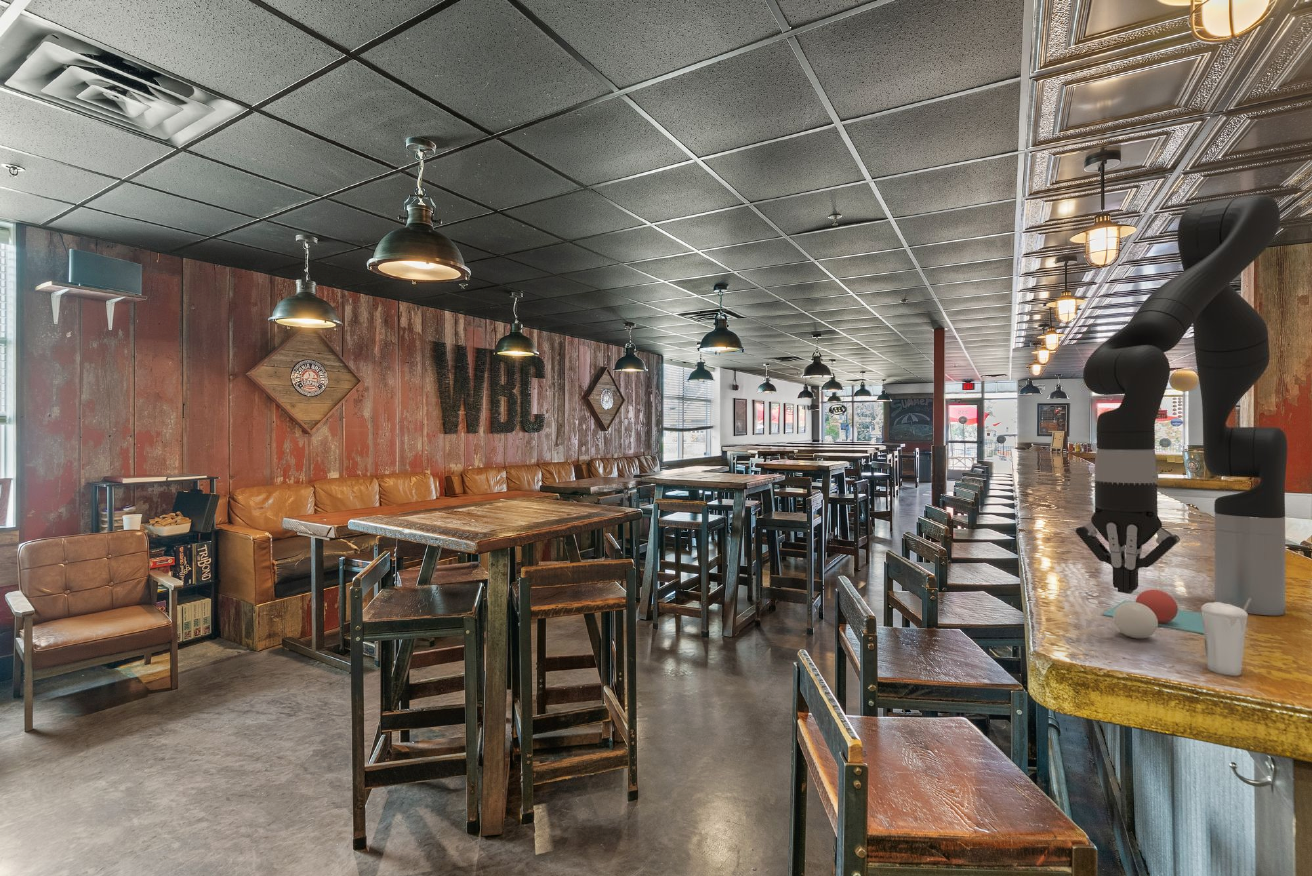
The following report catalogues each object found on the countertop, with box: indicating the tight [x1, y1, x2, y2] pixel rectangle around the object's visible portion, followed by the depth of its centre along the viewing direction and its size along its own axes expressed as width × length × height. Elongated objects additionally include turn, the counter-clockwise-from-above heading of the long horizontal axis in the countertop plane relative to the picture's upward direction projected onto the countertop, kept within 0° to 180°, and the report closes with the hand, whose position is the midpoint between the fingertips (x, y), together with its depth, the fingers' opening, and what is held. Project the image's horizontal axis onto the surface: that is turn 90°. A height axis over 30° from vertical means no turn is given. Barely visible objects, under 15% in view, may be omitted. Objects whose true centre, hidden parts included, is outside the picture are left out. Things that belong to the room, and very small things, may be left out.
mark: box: [1102, 600, 1204, 635], centre depth 105 cm, size 14×14×1 cm
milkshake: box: [1200, 598, 1252, 677], centre depth 80 cm, size 5×5×10 cm
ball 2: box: [1135, 589, 1178, 623], centre depth 102 cm, size 6×6×6 cm
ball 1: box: [1112, 601, 1159, 639], centre depth 94 cm, size 6×6×6 cm
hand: (1125, 591), depth 92 cm, fingers closed
